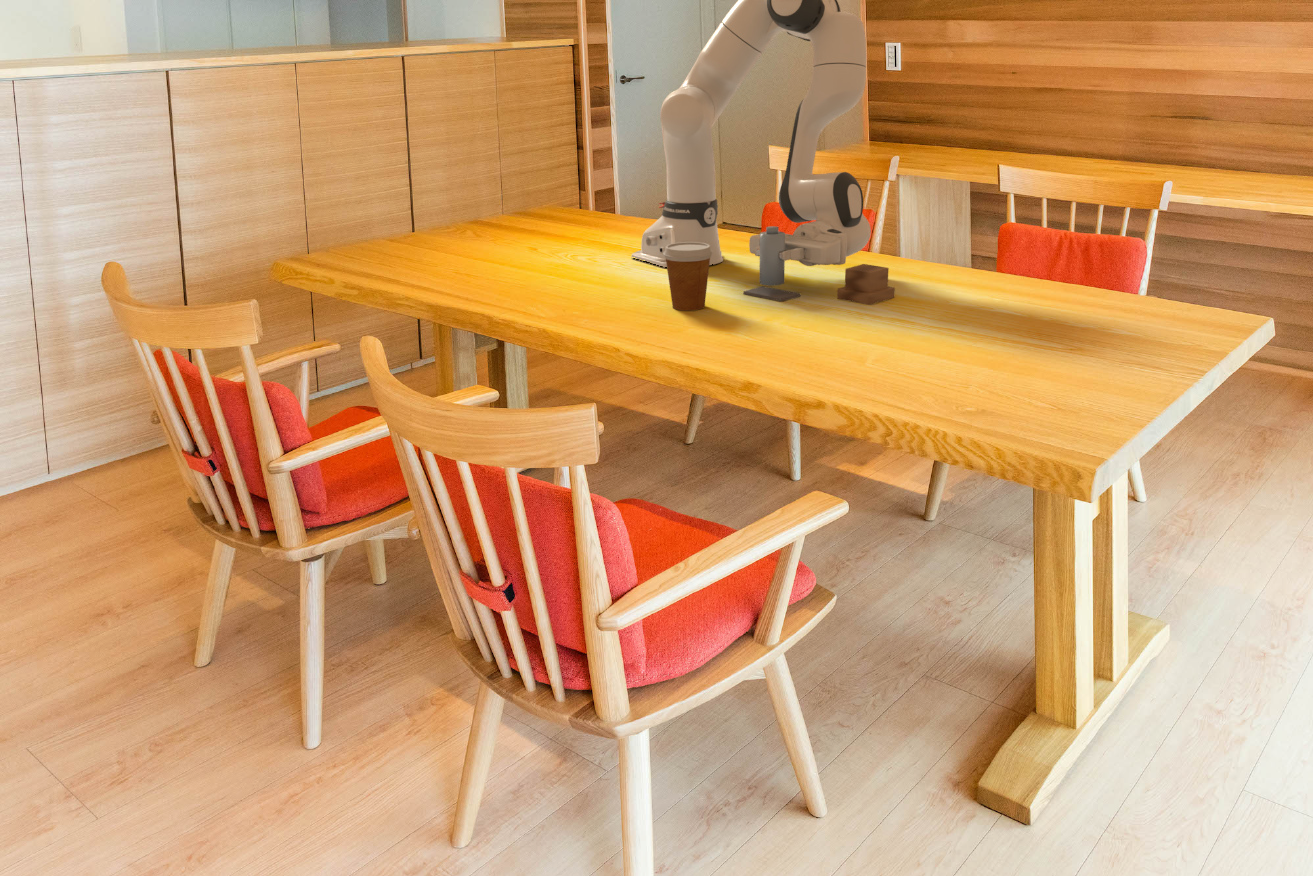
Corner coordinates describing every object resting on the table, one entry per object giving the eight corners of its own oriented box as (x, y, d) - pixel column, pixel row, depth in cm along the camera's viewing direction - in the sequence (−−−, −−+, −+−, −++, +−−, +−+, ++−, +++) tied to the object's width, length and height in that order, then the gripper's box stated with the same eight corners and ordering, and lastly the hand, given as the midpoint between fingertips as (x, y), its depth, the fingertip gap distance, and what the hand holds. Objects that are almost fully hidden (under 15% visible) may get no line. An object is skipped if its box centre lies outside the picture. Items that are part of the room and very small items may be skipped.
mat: (743, 294, 232) (743, 291, 232) (762, 289, 236) (762, 286, 236) (781, 301, 226) (781, 298, 225) (800, 296, 229) (800, 293, 229)
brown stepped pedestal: (837, 298, 227) (838, 268, 225) (861, 291, 232) (862, 262, 230) (870, 304, 221) (871, 274, 219) (894, 297, 226) (895, 267, 224)
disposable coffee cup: (662, 302, 227) (660, 242, 223) (709, 300, 228) (708, 240, 224) (667, 314, 218) (665, 252, 214) (716, 311, 219) (715, 249, 215)
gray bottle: (754, 283, 230) (754, 227, 226) (770, 278, 233) (770, 224, 229) (773, 286, 227) (773, 230, 223) (789, 282, 230) (790, 226, 226)
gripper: (774, 223, 242) (730, 232, 233) (852, 233, 228) (809, 244, 219) (774, 252, 244) (730, 263, 235) (851, 265, 231) (808, 276, 222)
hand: (769, 254), depth 227 cm, fingers closed on gray bottle, 5 cm apart
